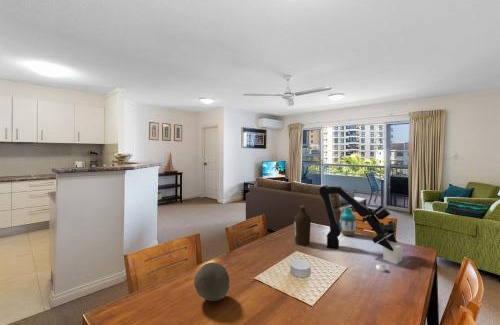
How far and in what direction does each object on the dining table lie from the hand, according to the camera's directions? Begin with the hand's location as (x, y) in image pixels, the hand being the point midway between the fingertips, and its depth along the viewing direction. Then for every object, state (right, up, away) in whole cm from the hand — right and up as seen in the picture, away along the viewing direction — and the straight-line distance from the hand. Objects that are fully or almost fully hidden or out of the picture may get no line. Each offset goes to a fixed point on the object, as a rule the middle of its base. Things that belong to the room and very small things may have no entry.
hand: (395, 248), depth 137 cm
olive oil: (-46, -6, +28) cm, 54 cm away
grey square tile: (-1, -7, +1) cm, 7 cm away
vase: (-10, -5, +43) cm, 45 cm away
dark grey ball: (-96, -10, -33) cm, 102 cm away
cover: (-1, -7, +1) cm, 7 cm away
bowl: (-14, -8, -10) cm, 19 cm away
